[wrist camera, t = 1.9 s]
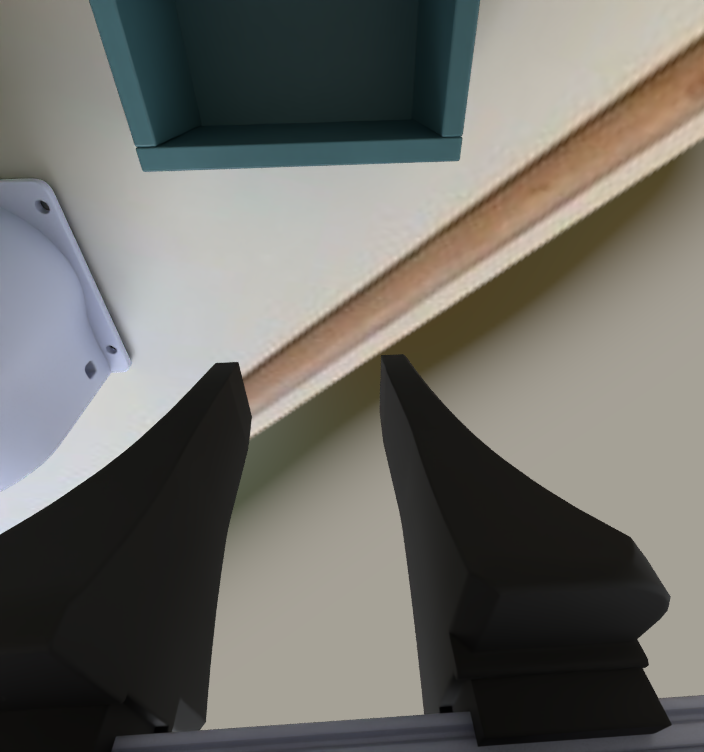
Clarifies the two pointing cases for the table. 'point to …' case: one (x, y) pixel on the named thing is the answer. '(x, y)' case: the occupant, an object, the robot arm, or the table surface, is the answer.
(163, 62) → the drawer
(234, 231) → the table surface
